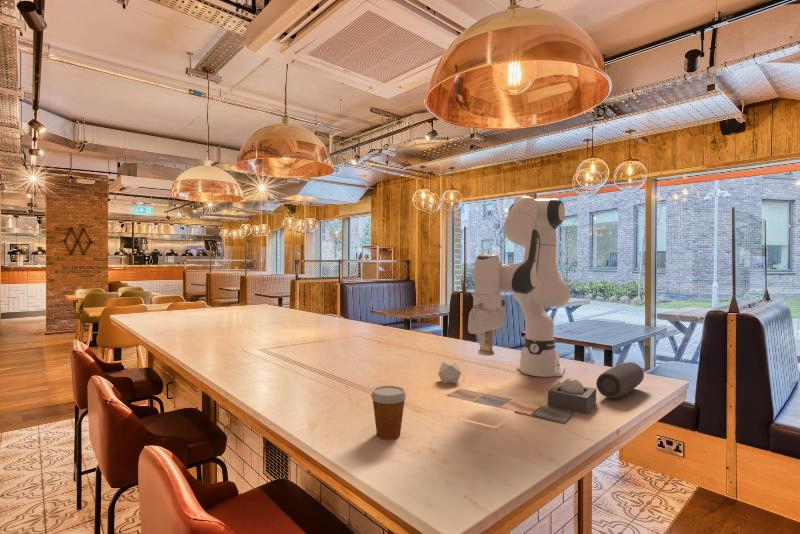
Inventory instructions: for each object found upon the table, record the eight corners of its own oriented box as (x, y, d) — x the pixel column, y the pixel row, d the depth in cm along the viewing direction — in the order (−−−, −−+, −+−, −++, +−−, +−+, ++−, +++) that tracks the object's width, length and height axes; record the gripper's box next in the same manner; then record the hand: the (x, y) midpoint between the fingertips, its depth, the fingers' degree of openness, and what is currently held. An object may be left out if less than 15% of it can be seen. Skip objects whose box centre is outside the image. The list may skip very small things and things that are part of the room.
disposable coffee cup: (370, 428, 122) (370, 385, 122) (404, 427, 123) (404, 384, 123) (371, 442, 113) (371, 396, 113) (407, 441, 114) (408, 395, 113)
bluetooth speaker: (618, 384, 166) (618, 358, 166) (645, 390, 159) (645, 363, 159) (593, 398, 150) (594, 369, 150) (622, 404, 144) (623, 374, 143)
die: (454, 389, 160) (467, 367, 163) (434, 377, 162) (447, 354, 165) (451, 391, 168) (463, 369, 171) (432, 379, 170) (444, 357, 172)
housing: (558, 396, 151) (558, 382, 151) (596, 403, 144) (596, 388, 144) (547, 406, 142) (547, 390, 142) (587, 414, 135) (587, 398, 134)
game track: (459, 389, 158) (459, 388, 158) (574, 413, 135) (574, 412, 135) (445, 396, 150) (445, 395, 150) (565, 423, 127) (565, 421, 127)
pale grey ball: (563, 394, 148) (564, 374, 148) (586, 398, 144) (586, 378, 143) (557, 400, 142) (557, 379, 142) (580, 404, 138) (581, 383, 138)
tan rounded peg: (482, 351, 150) (482, 328, 150) (496, 353, 147) (497, 329, 147) (475, 354, 146) (475, 330, 146) (489, 356, 143) (490, 331, 143)
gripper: (481, 306, 136) (480, 350, 136) (508, 300, 152) (507, 340, 153) (463, 304, 140) (462, 347, 140) (491, 299, 156) (490, 338, 156)
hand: (486, 343), depth 146 cm, fingers closed on tan rounded peg, 4 cm apart
